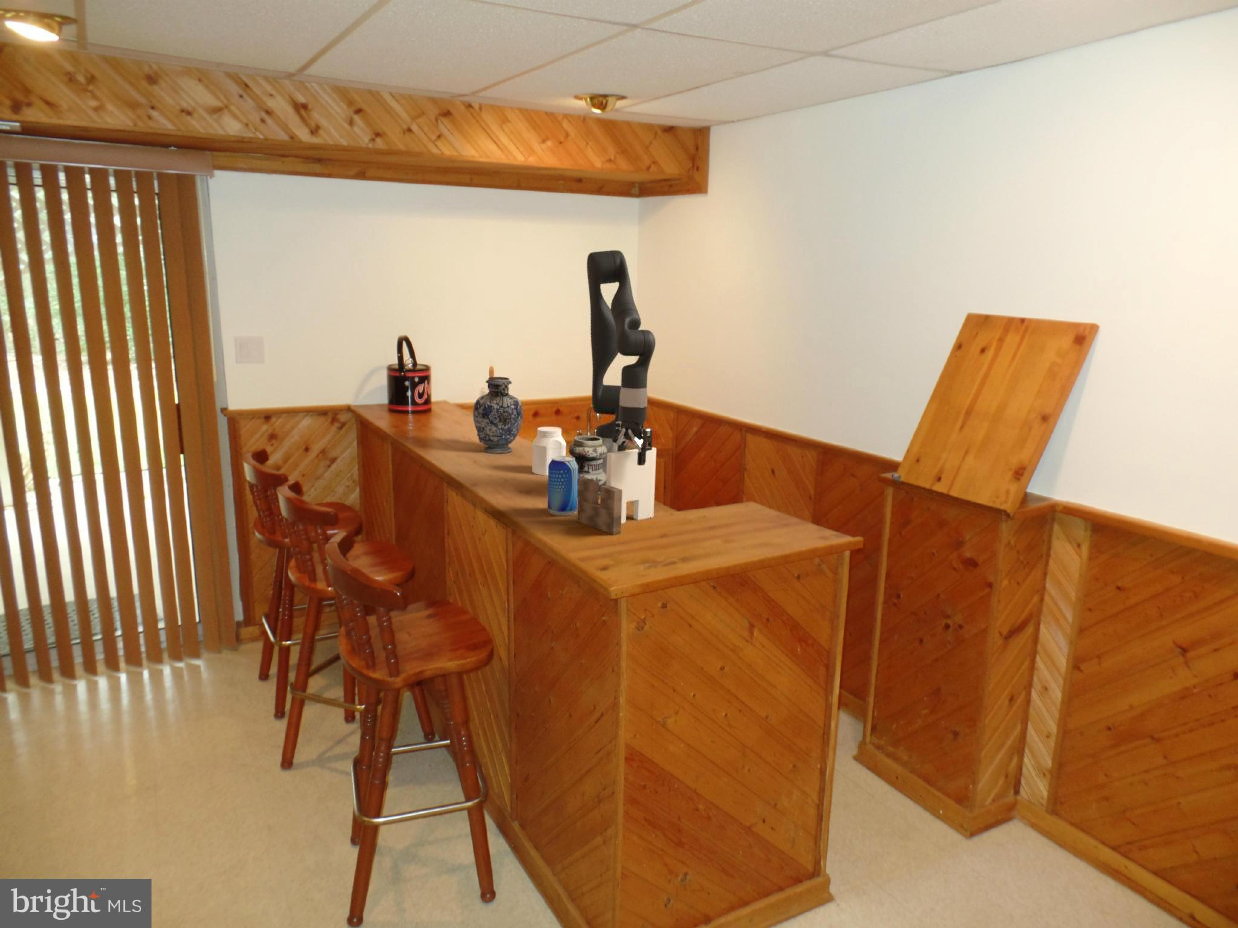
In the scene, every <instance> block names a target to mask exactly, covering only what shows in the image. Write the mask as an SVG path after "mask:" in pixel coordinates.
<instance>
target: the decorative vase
mask: <svg viewBox="0 0 1238 928" xmlns="http://www.w3.org/2000/svg"><path fill="white" fill-rule="evenodd" d="M485 383H486V384H487V388H488V392H487V393H486V394H484V395H483V394H482V395H481V396H479V397H478V398H477V399H476V400H475V402H474V404H473V409H472V410H473V411H472V417H473V424H474V427H475V430H476V432H477V433H476V436H477V437H478V442H479V443H480V444H483V445H484V446H485V447H484V448H483V452H485V453H487V454H494V455H495V454H496V455H500V454H501V455H503V454H509V453H512V452H513V448H512V447H510V446H509V445H510V444H512V443H513V442H514V441H515V440H516V439H517V437H518V434H519V432H520V430H521V427H522V423H523V419H524V418H523V417H524V411H523V404H522V403H521V401H520V399H519V398H518V397H516V396H514V395H512V394H510V393H509V392H510V390H509V389H510V387H509V385H512V384H513V382H512V381H511V380H510V377H505V376H489V377H488V379H487V380H486V381H485Z"/></svg>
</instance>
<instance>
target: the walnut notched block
mask: <svg viewBox="0 0 1238 928" xmlns="http://www.w3.org/2000/svg"><path fill="white" fill-rule="evenodd" d="M599 492H600V497H598V496H599ZM599 498H600V499H599ZM621 511H622V490H621V489H618V488H615V487H612V486H610V485H605V486H601V491H599V482H598V481H595V480H592V479H589V478H586V477H585V478H579V479H578V498H577V518H576V519H577V521H578V522H581V523H583V524H585V525H587V526H590V527H592V526H593V528H595V529H597V528H598V529H597V530H600V529H601V530H600V531H602V530H603V531H602V532H605V531H606V532H605V533H607V532H609V533H608V534H610V535H612V534H613V535H612V536H615V535H614V534H616V535H620V534H619V533H621V534H622V532H621V531H622V524H621Z"/></svg>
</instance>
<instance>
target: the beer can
mask: <svg viewBox="0 0 1238 928" xmlns="http://www.w3.org/2000/svg"><path fill="white" fill-rule="evenodd" d="M577 491H578V465H577V463H576V461H575V458H574V457H572V456H571V455H566V456H554V457H552V460H551V462H550V463H549V465H548V475H547V510H548V511H549V513H550V514H551V515H554V516H563V517H566V516H571V515H574V514H575V512H576V511H577V510H578V498H577Z"/></svg>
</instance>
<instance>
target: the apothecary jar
mask: <svg viewBox="0 0 1238 928" xmlns="http://www.w3.org/2000/svg"><path fill="white" fill-rule="evenodd" d="M573 439H574V441H573V443H572V444H571V445H569V448H568V454H569V456H572V457H574V458H575V461H576V463H577V465H578V479H579V478H585V477H586V478H589V479H592V480H595V481H598V482H599V486H600V485H602V484H603V483H604V482H605V481H606V475H605V473H604V472H603V469H602V468H603V457H604V456H605V455H606V454H607V449H606V447H605V446H604V445H603V443H602V439H601V438H600V437H596V435H578V436H575V437H574V438H573ZM600 492H601V491H599V496H598V498H600ZM577 499H578V491H577Z"/></svg>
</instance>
